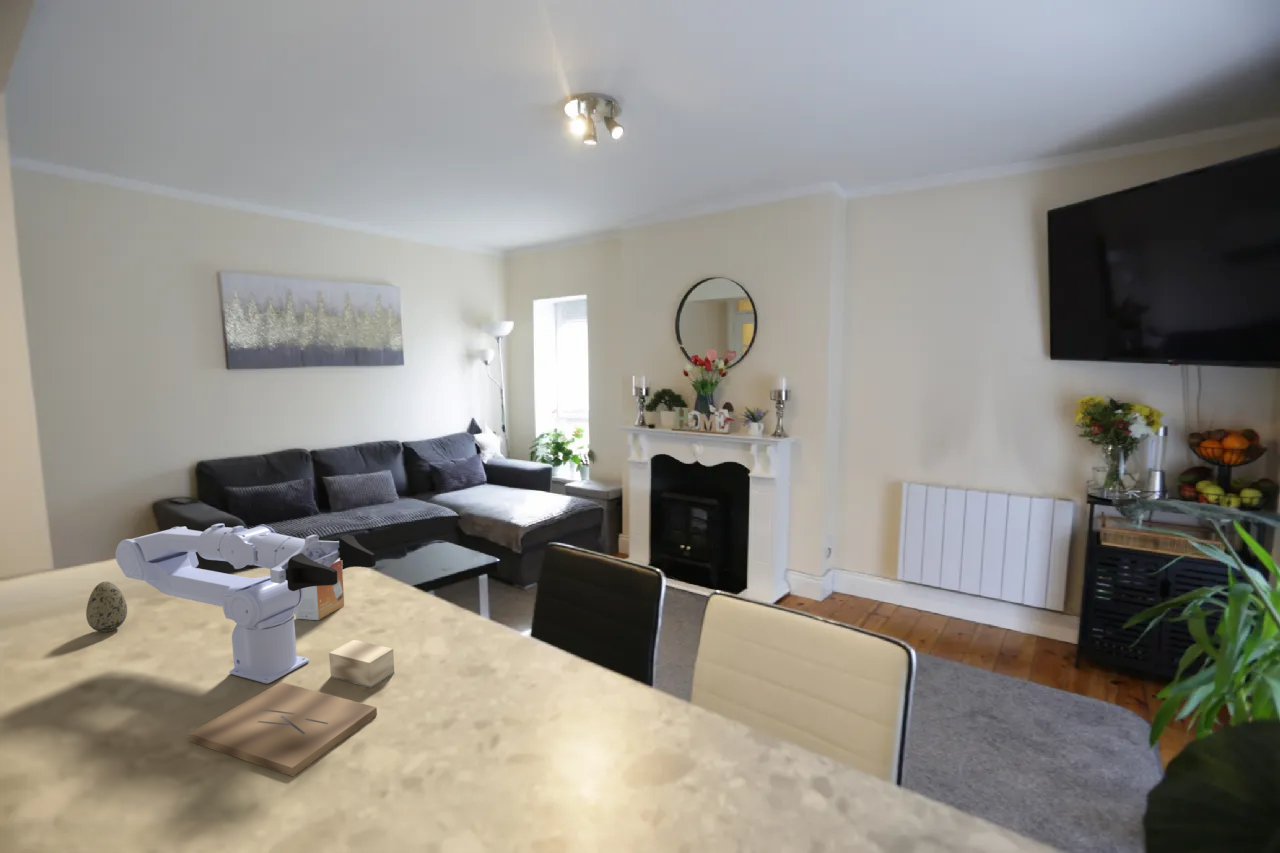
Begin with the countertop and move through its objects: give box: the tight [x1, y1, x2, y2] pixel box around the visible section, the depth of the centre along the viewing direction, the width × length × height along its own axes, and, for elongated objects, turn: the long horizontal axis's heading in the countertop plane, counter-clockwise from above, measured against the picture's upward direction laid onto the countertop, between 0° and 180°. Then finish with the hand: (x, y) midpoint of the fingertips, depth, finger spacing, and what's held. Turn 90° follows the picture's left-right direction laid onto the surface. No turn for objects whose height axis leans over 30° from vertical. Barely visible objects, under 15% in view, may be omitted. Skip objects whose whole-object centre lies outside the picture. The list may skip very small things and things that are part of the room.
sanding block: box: [328, 639, 395, 689], centre depth 99 cm, size 9×5×4 cm, turn 68°
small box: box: [294, 558, 345, 621], centre depth 124 cm, size 8×6×10 cm
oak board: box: [188, 681, 378, 777], centre depth 85 cm, size 20×14×1 cm
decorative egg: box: [85, 581, 128, 633], centre depth 115 cm, size 6×6×10 cm
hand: (355, 568), depth 93 cm, fingers open, 7 cm apart
